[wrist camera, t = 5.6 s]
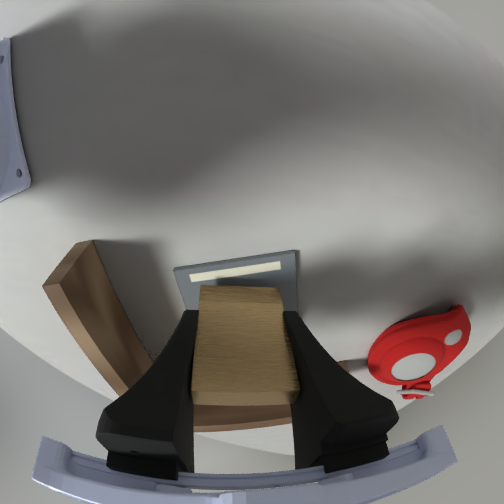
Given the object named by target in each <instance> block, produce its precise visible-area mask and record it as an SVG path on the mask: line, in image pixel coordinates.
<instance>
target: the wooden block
mask: <svg viewBox="0 0 504 504" xmlns="http://www.w3.org/2000/svg"><path fill="white" fill-rule="evenodd" d="M198 310H199V317H198V327H197V332H196V337H195V348H194V361H193V375H192V390H191V391H192V398H193V404H199V405H224V406H256V405H281V404H293V403H294V402H295V400H296V398H297V396H298V394H299V392H300V386H299V381H298V376H297V371H296V366H295V361H294V356H293V351H292V346H291V343H290V340H289V337H288V334H287V331H286V327H285V322H284V317H283V311H284V309H283V304H282V299H281V295H280V290H279V288H271V287H242V286H219V285H201V286H200V295H199V305H198Z"/></svg>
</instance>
